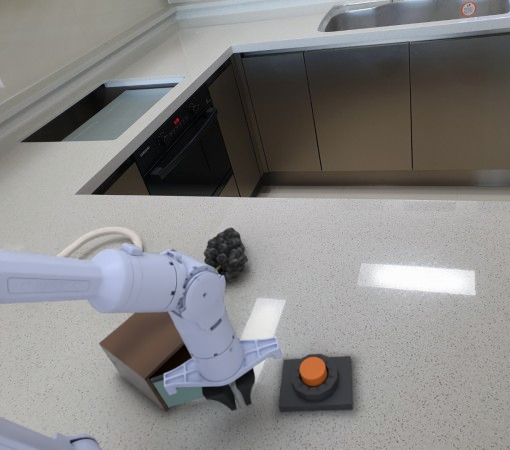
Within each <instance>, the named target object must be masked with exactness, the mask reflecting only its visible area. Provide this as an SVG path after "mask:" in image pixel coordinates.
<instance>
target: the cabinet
mask: <svg viewBox="0 0 510 450" xmlns="http://www.w3.org/2000/svg"><path fill="white" fill-rule="evenodd" d="M98 345H99V346H100V348H101V349H102V351H103V352H104V353H105V355H106V356H107V358H108V359H109V360H110V362H111V363H112V365H113V366H114V367H115V368H116V370H117V372H118V373H119V374H120V375H121V377H122V378H123V379H124V380H126V381H127V382H128V383H129V384H131V385H132V386H133V387H134V388H136V389H137V390H138V391H139V392H141V393H142V394H143V395H145V397H147V398H148V399H150V400H151V401H152V402H153V403H154V404H155V405H157V406H158V407H159V408H160V409H162V410H163V411H164V412H167V411H169V409H170V408H169V407H168V406H167V404H166V403H165V401H164V399H163V398H162V396H161V395H160V393H159V392H158V390H157V389H156V387H155V386H154V384H153V383H152V381H151V378H153V377H157V376H160V375H163V374H164V373H167V372H169V371H172V370H174V369H175V368H177V367H179V366H180V365H182V364H184V363H185V362H187V361H188V360H190V359H191V358H192V357H191V355H190V353H189V351H188V349H187V347H186V345H185V344H184V342H183V340H182V338H181V336H180V334H179V332H178V330H177V329H176V327H175V325H174V322H173V320H172V318H171V316H170V315H169V313H168V311H167V312H149V313H132V314H131V316H129V317H128V318H127V319H126V320H124V321H123V322H122V323H121V324H120V325H118V327H116V328H115V329H113V331H112V332H110V333H109V334H108V335H107V336H106V337H104V338H103V339H102V340H101V341H100V342H99V343H98Z"/></svg>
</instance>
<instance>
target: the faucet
mask: <svg viewBox="0 0 510 450" xmlns="http://www.w3.org/2000/svg"><path fill="white" fill-rule="evenodd" d="M110 235H119V236H124V237H127V239H130V240H131V241H132V242H133V243H132V244H134V245H136V246H138V247H140V248H142V249H143V250H144V248H143V247H144V246H143V245H144V244H143V240H142V238H141V237H140V235H139V233H137V232H136V231H134V230H132V229H130V228H128V227H124V226H105V227H100V228H97V229H93V230H91V231H89V232H87V233H83V234H82V235H81V236H79V237H78V238H76V239H75V240H74V241H73V242H72V243H70V244H69V245H67V246H66V247H65V248H64V249H63V250H62V251H60V252H59V253H58V254H56V255H55V256H59V257H67V258H70V257H71V255H73V254H74V253H75V252H77V251H78V250H79V249H80V248H82V246H83V247H84V245H86V244H87V243H89V242H91V241H93V240H95V239H97V238H100V237H104V236H110Z"/></svg>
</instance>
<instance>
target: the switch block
mask: <svg viewBox="0 0 510 450" xmlns="http://www.w3.org/2000/svg"><path fill="white" fill-rule="evenodd" d="M310 357H318V358H320V359H321V360H323V362H324V363H325V366H326V371H327V377H326V379H325V381H324V382H323V383H322V384H320V385H318V386H308V385H306V384H305V383H304V382H303V380H302V377H301V374H300V365H301V363H302V362H303V361H304V360H305V359H307V358H310ZM282 363H283V364H282V373H281V380H280V391H279V401H278V409H279V411H280V412H306V411H308V412H309V411H310V412H311V411H332V410H333V411H335V410H353V409H354V405H353V404H354V403H353V368H352V363H353V362H352V356H351V355H344V356H327V355H325V354H323V353H309V354H307V355H305V356H303V357H301V358H289V359H288V358H287V359H286V358H285V359H283V362H282Z"/></svg>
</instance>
